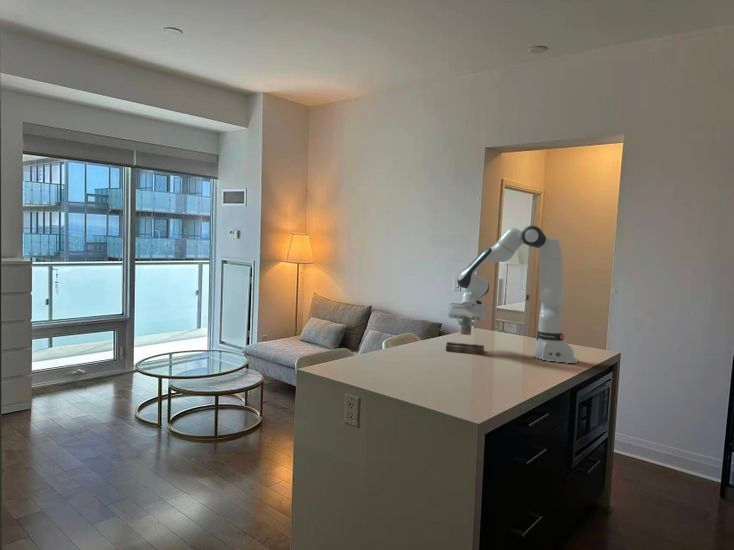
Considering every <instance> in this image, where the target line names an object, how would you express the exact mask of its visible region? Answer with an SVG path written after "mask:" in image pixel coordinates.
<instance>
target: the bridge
mask: <svg viewBox="0 0 734 550" xmlns="http://www.w3.org/2000/svg"><path fill="white" fill-rule="evenodd" d="M445 351H446V352H450V351H452V352H453V353H461V352H462V354H463V353H465V354H472V353H473V354H475V355H484V354H485V345H484V344H472V343H461V342H452V341H447V342H446V345H445ZM452 352H451V353H452Z"/></svg>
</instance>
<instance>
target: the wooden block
mask: <svg viewBox="0 0 734 550" xmlns="http://www.w3.org/2000/svg"><path fill="white" fill-rule="evenodd" d="M460 321H461V325H460V335H462V336H464V335H465V336H472V327H473V326H472V322H473V320H472V316H464V315H462V319H461V320H460Z"/></svg>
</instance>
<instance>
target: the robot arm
mask: <svg viewBox="0 0 734 550" xmlns="http://www.w3.org/2000/svg"><path fill="white" fill-rule="evenodd" d="M522 245H526V246H528V247H532V248H537V250H538V253H539V299H540V302H541V303H540V304H541V305H540V310H539V315H538V316H539V317H538V329H537V331H536V345H535V349H534V352H533V355H532V357H533V356H534V357H533V358H535V357H536V358H535V359H538V358H539V360H541V359H542V360H541V361H543V360H547V361H546V362H549V361H557V362H556V363H558V362H565V363H564V364H568V363H576V364H578V363H577V362H579V359H578V358H577V357H575V352H574V350H573V347H572V346H570V345H569V344H568V343H567V342H566V341H565V340H564V339H565V335H564V333H562V332H561V327H562V325H561V324H562V317H563V308H564V307H563V306H564V300H565V299H564V298H565V291H564V289H563V259H562V249H561V244H560V241H559V240H558V239H557V238H555V237H552V236H551V237H547V236H546V235H545V233H544V230H543V229H542V228H541V227H540V226H537V225H528V226H526V227H525V228H524V229H523V230H519V228H515V227H510V228H508V229H507V230H506V231H505V232H504V233H503V234H502V235H501V237H500V238H499V239H498V240H497V242H496V243H495V244H494V245H493V246H491V247H487V248H485V249H484V250H482V252H480V253H479V255H477V256H476V258H475V259H473V261H472V262H471V263H469V265H468V266H467V267H466V268H464V269H463V270H462V271H461V272H460V273H459V274H458V276H457V280H456V281H457V284H458V286H459V287H460V297H459V299H460V300H459V303H455V302H452V303H450V304H449V305H448V314H447V315H448V318H449V319H456V320H457V323H458V325H460V326H461V321H462V315H464V316H472V327H475V324H476V323H477V322H478V321H480V322H485V321H486V319H487V311H486V307H485V301H481V300H479V299H480V298H482V297H484V296H486V295H487V294H488V293H489V290H490V282H489V281H488V280H487V279H485V278H483V277H482V276H479V275H478V274H476V272H477V271H478V270H479V269H480V268H481V267H482V266H483V265H484V264H485V263H487V262H496V263H505V262H508V261H509V260H511V259H512V257H513V256H514V255H515V253H516V252H517V250H519V248H520V247H521V246H522Z"/></svg>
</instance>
